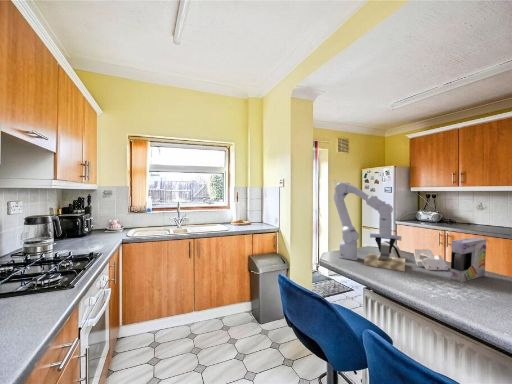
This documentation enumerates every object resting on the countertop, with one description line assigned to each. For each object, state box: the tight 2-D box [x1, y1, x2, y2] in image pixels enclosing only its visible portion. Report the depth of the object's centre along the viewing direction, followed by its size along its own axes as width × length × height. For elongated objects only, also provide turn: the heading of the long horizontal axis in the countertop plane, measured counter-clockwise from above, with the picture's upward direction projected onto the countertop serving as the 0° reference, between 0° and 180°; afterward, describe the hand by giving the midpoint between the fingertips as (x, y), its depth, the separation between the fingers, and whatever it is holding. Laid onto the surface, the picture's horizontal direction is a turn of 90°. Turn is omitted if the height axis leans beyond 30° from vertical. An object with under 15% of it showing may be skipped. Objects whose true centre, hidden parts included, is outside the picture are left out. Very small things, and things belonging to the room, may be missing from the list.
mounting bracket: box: [413, 248, 450, 271], centre depth 124 cm, size 12×6×11 cm, turn 89°
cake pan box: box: [450, 236, 487, 283], centre depth 110 cm, size 19×5×18 cm, turn 112°
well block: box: [364, 253, 406, 272], centre depth 128 cm, size 18×13×3 cm
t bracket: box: [379, 245, 390, 259], centre depth 128 cm, size 4×7×6 cm, turn 147°
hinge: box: [381, 240, 406, 262], centre depth 144 cm, size 17×5×10 cm, turn 178°
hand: (385, 252), depth 128 cm, fingers closed on t bracket, 4 cm apart
